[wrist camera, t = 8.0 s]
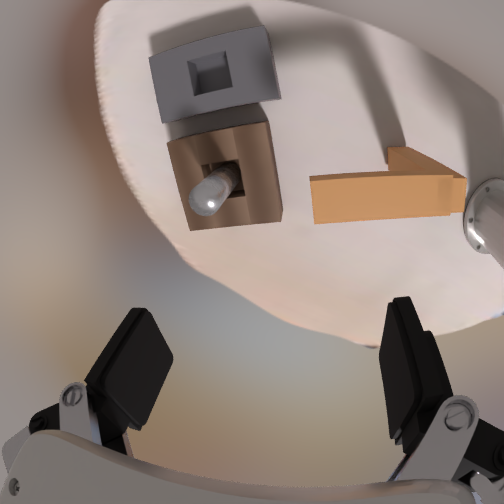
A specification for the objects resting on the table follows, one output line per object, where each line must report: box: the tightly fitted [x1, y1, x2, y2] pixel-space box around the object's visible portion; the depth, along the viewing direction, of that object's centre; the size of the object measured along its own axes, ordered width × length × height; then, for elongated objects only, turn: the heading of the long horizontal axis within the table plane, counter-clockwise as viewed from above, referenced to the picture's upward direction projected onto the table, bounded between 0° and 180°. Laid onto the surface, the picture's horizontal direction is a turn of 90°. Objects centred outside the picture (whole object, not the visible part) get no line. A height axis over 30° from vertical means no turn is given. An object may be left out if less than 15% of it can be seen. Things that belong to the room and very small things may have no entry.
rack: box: [149, 25, 281, 124], centre depth 28 cm, size 14×9×4 cm, turn 101°
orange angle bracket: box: [309, 147, 467, 224], centre depth 25 cm, size 14×4×15 cm, turn 101°
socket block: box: [167, 121, 283, 231], centre depth 34 cm, size 12×12×4 cm
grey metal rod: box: [189, 162, 241, 216], centre depth 31 cm, size 3×3×10 cm
